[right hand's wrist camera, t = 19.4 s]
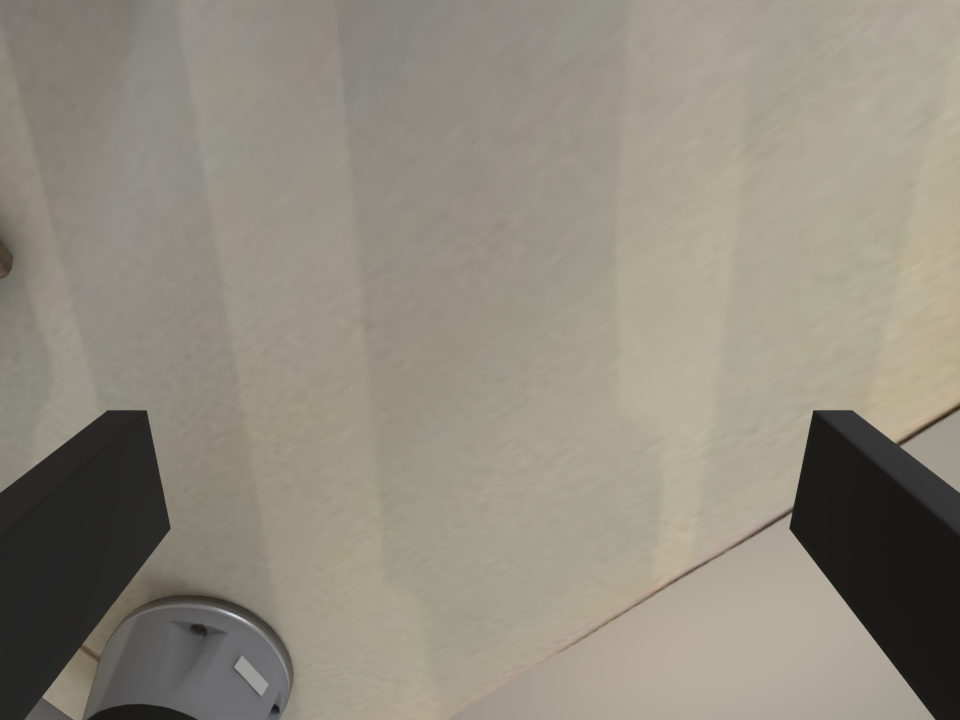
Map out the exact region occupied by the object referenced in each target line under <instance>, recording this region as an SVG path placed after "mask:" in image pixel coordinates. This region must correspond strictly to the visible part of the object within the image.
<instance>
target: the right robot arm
mask: <svg viewBox="0 0 960 720" xmlns="http://www.w3.org/2000/svg"><path fill="white" fill-rule="evenodd" d="M170 529H171V528H170V523H169V518H168V513H167V508H166V503H165V498H164V493H163V488H162V483H161V479H160V474H159V469H158V464H157V459H156V454H155V449H154V444H153V439H152V434H151V429H150V425H149V420H148V415H147V410H108V411H106V412H105V413H104V414H102V415H101V416H100V417H99V418H97V419H96V420H95V421H93V422H92V423H91V424H89V425H88V426H87V427H86V428H84V429H83V430H82V431H80V432H79V433H78V434H76V435H75V436H74V437H73V438H71V439H70V440H69V441H67V442H66V443H65V444H63V445H62V446H61V447H60V448H58V449H57V450H56V451H54V452H53V453H52V454H50V455H49V456H48V457H47V458H45V459H44V460H43V461H41V462H40V463H39V464H37V465H36V466H35V467H34V468H32V469H31V470H30V471H28V472H27V473H26V474H24V475H23V476H22V477H21V478H19V479H18V480H17V481H15V482H14V483H13V484H11V485H10V486H9V487H8V488H6V489H5V490H4V491H2V492H1V493H0V720H73V719H72V718H70V717H69V716H67V715H66V714H64V713H63V712H62V711H60V710H59V709H57V708H56V707H54V706H53V705H52V704H50V703H49V702H48V701H46V700H45V699H43V698H42V696H43V695H44V693H45V692H46V691H47V690H48V688H49V687H50V686H51V684H52V683H53V682H54V680H55V679H56V678H57V676H58V675H59V674H60V673H61V671H62V670H63V669H64V667H65V666H66V665H67V663H68V662H69V661H70V659H71V658H72V657H73V656H74V654H75V653H76V652H77V650H78V649H79V648H80V646H81V645H82V644H83V642H84V641H85V640H86V639H87V637H88V636H89V635H90V633H91V632H92V631H93V629H94V628H95V627H96V625H97V624H98V623H99V622H100V620H101V619H102V618H103V616H104V615H105V614H106V612H107V611H108V610H109V608H110V607H111V606H112V605H113V603H114V602H115V601H116V599H117V598H118V597H119V595H120V594H121V593H122V592H123V590H124V589H125V588H126V586H127V585H128V584H129V582H130V581H131V580H132V578H133V577H134V576H135V575H136V573H137V572H138V571H139V569H140V568H141V567H142V565H143V564H144V563H145V561H146V560H147V559H148V558H149V556H150V555H151V554H152V552H153V551H154V550H155V548H156V547H157V546H158V544H159V543H160V542H161V541H162V539H163V538H164V537H165V535H166V534H167V533H168V531H169V530H170ZM789 529H790V530H791V531H792V533H793V534H794V535H795V537H796V538H797V539H798V540H799V542H800V543H801V544H802V546H803V547H804V548H805V550H806V551H807V552H808V554H809V555H810V556H811V557H812V559H813V560H814V561H815V563H816V564H817V565H818V567H819V568H820V569H821V571H822V572H823V573H824V574H825V576H826V577H827V578H828V580H829V581H830V582H831V584H832V585H833V586H834V588H835V589H836V590H837V591H838V593H839V594H840V595H841V597H842V598H843V599H844V601H845V602H846V603H847V605H848V606H849V607H850V608H851V610H852V611H853V612H854V614H855V615H856V616H857V618H858V619H859V620H860V622H861V623H862V624H863V625H864V627H865V628H866V629H867V631H868V632H869V633H870V635H871V636H872V637H873V639H874V640H875V641H876V642H877V644H878V645H879V646H880V648H881V649H882V650H883V652H884V653H885V654H886V656H887V657H888V658H889V659H890V661H891V662H892V663H893V665H894V666H895V667H896V669H897V670H898V671H899V673H900V674H901V675H902V676H903V678H904V679H905V680H906V682H907V683H908V684H909V686H910V687H911V688H912V690H913V691H914V692H915V693H916V695H917V696H918V697H919V699H920V700H921V701H922V703H923V704H924V705H925V707H926V708H927V709H928V710H929V712H930V713H931V714H932V716H933V717H934V718H935V720H960V493H959V492H958V491H956V490H955V489H954V488H952V487H951V486H950V485H949V484H947V483H946V482H945V481H943V480H942V479H941V478H939V477H938V476H937V475H936V474H934V473H933V472H932V471H930V470H929V469H928V468H926V467H925V466H924V465H923V464H921V463H920V462H919V461H917V460H916V459H915V458H913V457H912V456H911V455H910V454H908V453H907V452H906V451H904V450H903V449H902V448H900V447H899V446H898V445H897V444H895V443H894V442H893V441H891V440H890V439H889V438H887V437H886V436H885V435H884V434H882V433H881V432H880V431H878V430H877V429H876V428H874V427H873V426H872V425H871V424H869V423H868V422H867V421H865V420H864V419H863V418H861V417H860V416H859V415H858V414H856V413H855V412H854V411H852V410H813V415H812V420H811V425H810V429H809V434H808V439H807V444H806V449H805V454H804V459H803V464H802V469H801V474H800V479H799V483H798V488H797V493H796V498H795V503H794V508H793V513H792V518H791V523H790V528H789ZM292 684H293V667H292V663H291V659H290V656H289V654H288V651H287V649H286V647H285V646H284V644H283V643H282V641H281V639H280V638H279V637H278V636H277V634H276V633H275V632H274V631H273V630H272V629H271V628H270V627H269V626H268V625H267V624H265V623H264V622H263V621H262V620H260V619H259V618H258V617H256V616H255V615H253V614H251V613H250V612H248V611H246V610H244V609H242V608H240V607H238V606H236V605H233V604H231V603H228V602H225V601H222V600H218V599H213V598H208V597H201V596H174V597H167V598H163V599H158V600H155V601H152V602H149V603H147V604H145V605H143V606H141V607H139V608H138V609H136V610H134V611H133V612H132V613H130V614H129V615H128V616H127V617H126V618H125V619H124V620H123V621H122V622H121V623H120V625H119V626H118V627H117V629H116V630H115V631H114V633H113V634H112V636H111V637H110V639H109V640H108V642H107V644H106V646H105V648H104V650H103V652H102V654H101V656H100V659H99V662H98V666H97V671H96V674H95V677H94V681H93V684H92V687H91V691H90V694H89V697H88V701H87V705H86V708H85V712H84V716H83V719H82V720H279V719H280V717H281V715H282V713H283V711H284V709H285V707H286V704H287V701H288V698H289V695H290V692H291V689H292Z"/></svg>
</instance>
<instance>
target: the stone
mask: <svg viewBox="0 0 960 720" xmlns="http://www.w3.org/2000/svg"><path fill="white" fill-rule="evenodd" d="M12 260H13V256H12V254H11V253H10V252H9V251H8V250H7V249H6V248H5V247H4V246H3V245H2V244H1V243H0V278H3V277H6V276H7V275H8V274H9V272H10V271H11V268H12Z"/></svg>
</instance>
